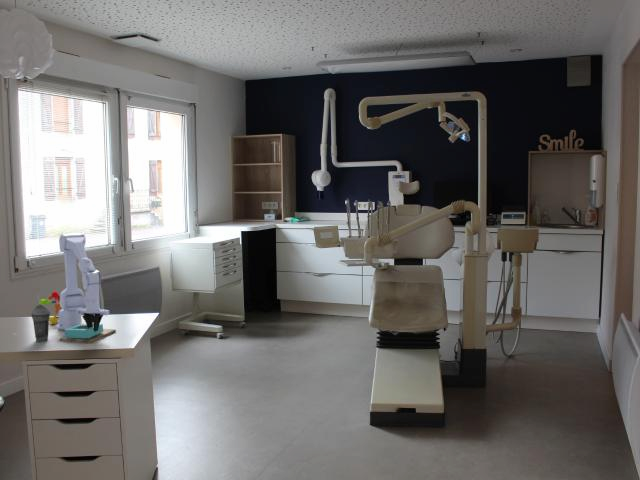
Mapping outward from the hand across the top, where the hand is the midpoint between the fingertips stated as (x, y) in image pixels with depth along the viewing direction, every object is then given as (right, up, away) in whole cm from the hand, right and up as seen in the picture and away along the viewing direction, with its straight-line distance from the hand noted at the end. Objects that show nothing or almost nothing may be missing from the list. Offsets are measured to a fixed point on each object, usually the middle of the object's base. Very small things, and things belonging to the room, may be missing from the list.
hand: (93, 330), depth 273 cm
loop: (-4, -2, +1) cm, 5 cm away
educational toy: (-29, 0, +32) cm, 43 cm away
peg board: (-4, -3, +4) cm, 6 cm away
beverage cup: (-21, -4, -3) cm, 21 cm away
